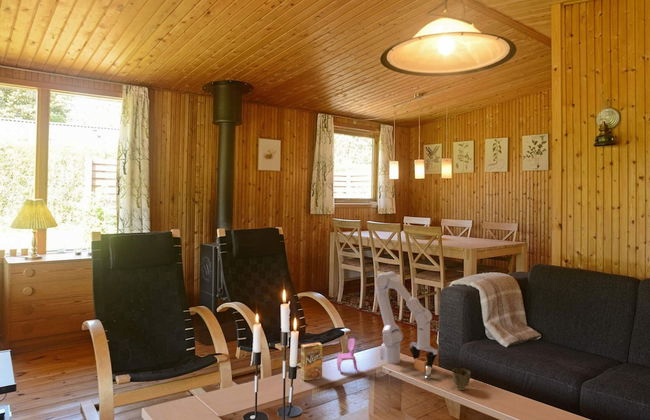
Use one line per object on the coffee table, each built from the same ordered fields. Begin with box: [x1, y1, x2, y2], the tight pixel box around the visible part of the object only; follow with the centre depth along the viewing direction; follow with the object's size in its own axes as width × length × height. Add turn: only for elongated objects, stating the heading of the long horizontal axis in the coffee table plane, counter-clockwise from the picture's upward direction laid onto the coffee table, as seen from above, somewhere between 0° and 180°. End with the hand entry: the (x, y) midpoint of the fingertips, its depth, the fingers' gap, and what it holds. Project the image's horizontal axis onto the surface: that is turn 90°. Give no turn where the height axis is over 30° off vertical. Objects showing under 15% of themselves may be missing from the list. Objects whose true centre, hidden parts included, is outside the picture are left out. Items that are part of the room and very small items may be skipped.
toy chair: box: [336, 337, 359, 374], centre depth 215 cm, size 8×9×15 cm
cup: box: [451, 367, 472, 392], centre depth 195 cm, size 8×7×8 cm
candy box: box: [300, 341, 323, 381], centre depth 206 cm, size 9×4×15 cm, turn 113°
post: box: [424, 366, 432, 379], centre depth 205 cm, size 3×3×6 cm
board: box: [397, 364, 453, 385], centre depth 210 cm, size 20×14×1 cm
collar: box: [413, 355, 433, 372], centre depth 215 cm, size 6×6×4 cm
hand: (423, 365), depth 215 cm, fingers open, 7 cm apart
